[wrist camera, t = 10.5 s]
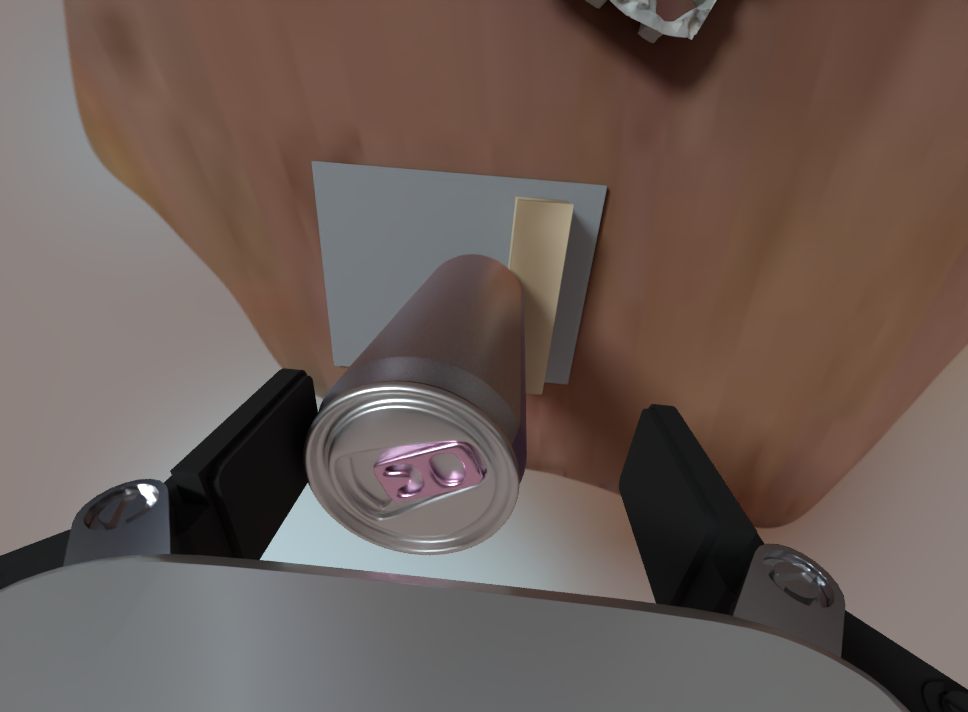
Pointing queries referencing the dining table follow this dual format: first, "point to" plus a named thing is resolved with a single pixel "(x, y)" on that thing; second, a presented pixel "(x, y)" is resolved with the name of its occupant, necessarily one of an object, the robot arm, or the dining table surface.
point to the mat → (434, 244)
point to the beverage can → (430, 417)
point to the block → (539, 274)
